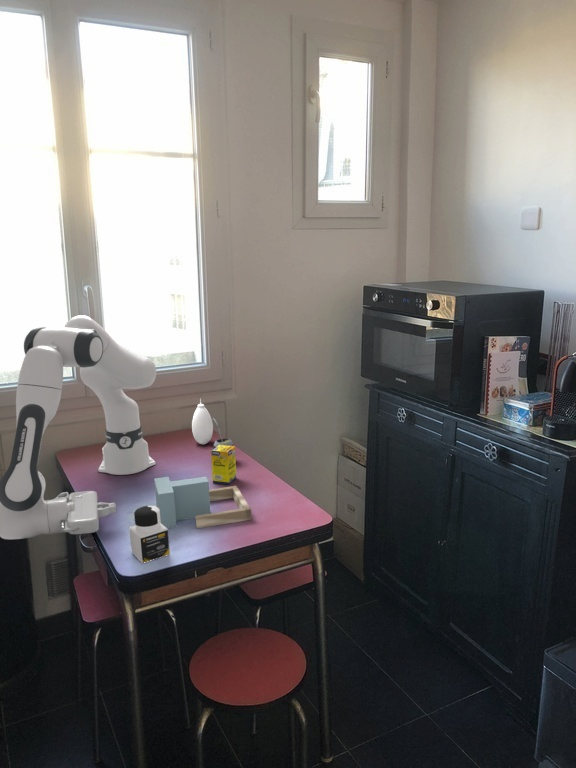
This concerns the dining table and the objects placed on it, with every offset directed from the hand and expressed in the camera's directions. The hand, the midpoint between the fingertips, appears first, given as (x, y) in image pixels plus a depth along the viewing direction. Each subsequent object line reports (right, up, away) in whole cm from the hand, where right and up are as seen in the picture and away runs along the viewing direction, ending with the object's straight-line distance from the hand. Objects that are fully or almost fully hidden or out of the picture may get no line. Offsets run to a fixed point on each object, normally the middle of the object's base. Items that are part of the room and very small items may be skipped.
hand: (115, 507), depth 168 cm
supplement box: (+26, +2, +31) cm, 41 cm away
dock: (+26, -3, +9) cm, 28 cm away
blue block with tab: (+17, -4, +6) cm, 19 cm away
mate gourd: (+24, +6, +48) cm, 54 cm away
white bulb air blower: (+14, +10, +69) cm, 71 cm away
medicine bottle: (+13, -9, -14) cm, 21 cm away
